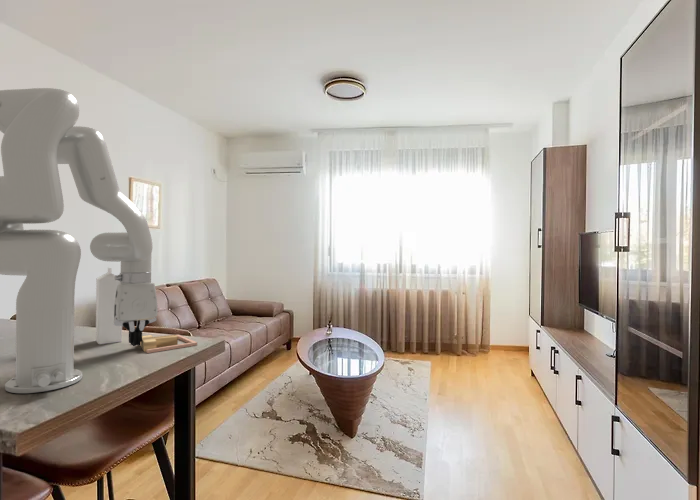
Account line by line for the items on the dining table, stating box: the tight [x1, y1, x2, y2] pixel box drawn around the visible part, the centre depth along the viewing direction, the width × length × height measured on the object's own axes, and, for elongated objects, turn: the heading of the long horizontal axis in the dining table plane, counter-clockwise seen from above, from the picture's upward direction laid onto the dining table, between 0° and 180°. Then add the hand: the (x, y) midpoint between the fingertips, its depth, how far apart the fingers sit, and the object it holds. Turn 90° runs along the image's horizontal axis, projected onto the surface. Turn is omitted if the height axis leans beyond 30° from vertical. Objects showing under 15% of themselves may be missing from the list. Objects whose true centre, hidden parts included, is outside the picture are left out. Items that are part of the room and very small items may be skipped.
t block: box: [139, 334, 179, 353], centre depth 113 cm, size 9×9×2 cm
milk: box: [95, 266, 123, 345], centre depth 118 cm, size 6×6×22 cm
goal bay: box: [145, 334, 198, 354], centre depth 115 cm, size 14×14×1 cm
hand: (135, 344), depth 110 cm, fingers closed
